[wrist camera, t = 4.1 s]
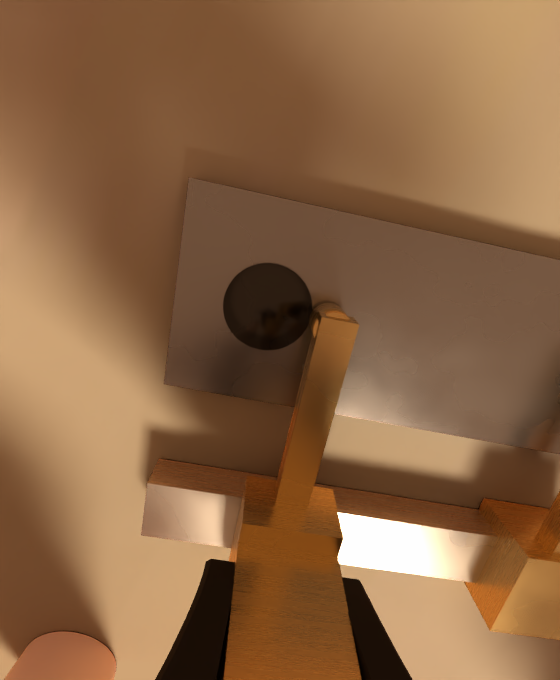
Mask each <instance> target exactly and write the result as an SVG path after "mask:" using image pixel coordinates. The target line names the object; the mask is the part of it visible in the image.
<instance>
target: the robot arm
mask: <svg viewBox="0 0 560 680" xmlns="http://www.w3.org/2000/svg"><path fill="white" fill-rule="evenodd" d="M234 570H235V562H230V561H223V560H215V559H210V560H208V561H206V564H205V568H204V572H203V575H202V579H201V582H200V585H199V587H198V590H197V593H196V595H195V598H194V600H193V603H192V605H191V607H190V610H189V612H188V614H187V617H186V619H185V621H184V623H183V625H182V627H181V629H180V632H179V634H178V636H177V638H176V640H175V642H174V644H173V646H172V648H171V651H170V652H169V654H168V656H167V658H166V660H165V662H164V664H163V666H162V668H161V670H160V672H159V673H158V675H157V677H156V679H155V680H216V677H217V672H218V667H219V661H220V656H221V651H222V646H223V641H224V636H225V631H226V626H227V620H228V615H229V610H230V605H231V600H232V595H233V583H234ZM342 581H343V586H344V591H345V596H346V601H347V607H348V615H349V619H350V622H351V627H352V632H353V637H354V643H355V648H356V653H357V658H358V663H359V668H360V674H361V679H362V680H412V678H411V676H410V674H409V673H408V671H407V669H406V667H405V666H404V664H403V662H402V660H401V658H400V657H399V655H398V653H397V651H396V649H395V647H394V646H393V644H392V642H391V640H390V638H389V636H388V634H387V632H386V631H385V629H384V627H383V625H382V623H381V621H380V619H379V617H378V615H377V613H376V611H375V609H374V607H373V605H372V603H371V601H370V599H369V598H368V596H367V594H366V592H365V590H364V588H363V586H362V584H361V582H360V581H359V580H357V579H350V578H343V577H342Z"/></svg>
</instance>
